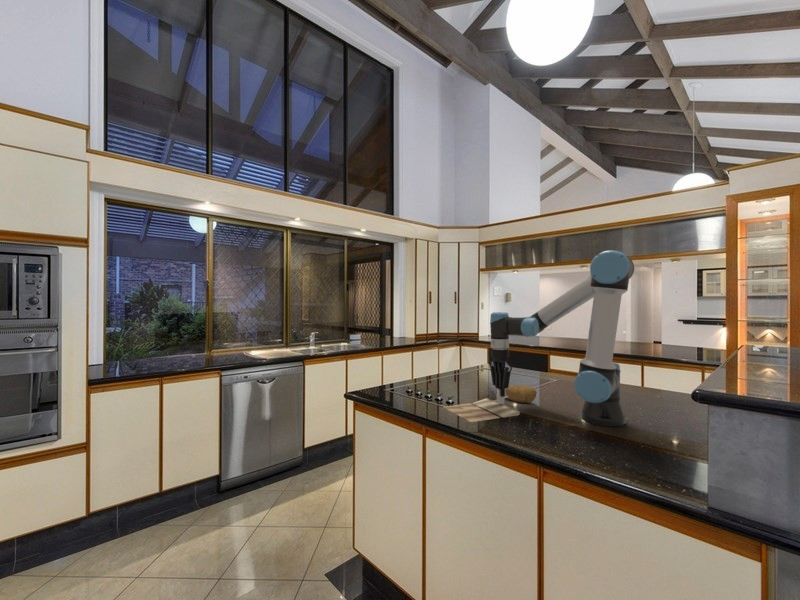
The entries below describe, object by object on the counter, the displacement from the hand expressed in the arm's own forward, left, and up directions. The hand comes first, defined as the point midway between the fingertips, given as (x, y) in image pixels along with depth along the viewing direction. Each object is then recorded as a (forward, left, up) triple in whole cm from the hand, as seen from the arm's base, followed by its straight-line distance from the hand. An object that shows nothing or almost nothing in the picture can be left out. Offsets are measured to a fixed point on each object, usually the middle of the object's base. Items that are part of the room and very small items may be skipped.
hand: (500, 403), depth 158 cm
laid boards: (0, +15, -3) cm, 16 cm away
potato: (+6, -16, -3) cm, 17 cm away
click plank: (0, +3, -2) cm, 4 cm away
